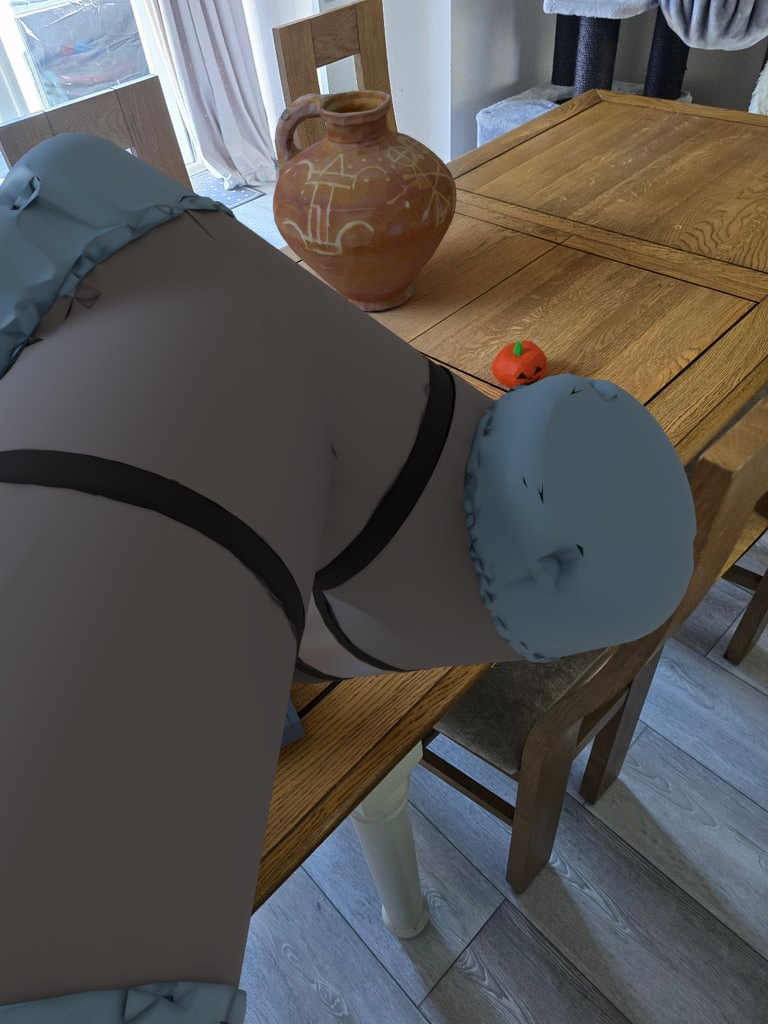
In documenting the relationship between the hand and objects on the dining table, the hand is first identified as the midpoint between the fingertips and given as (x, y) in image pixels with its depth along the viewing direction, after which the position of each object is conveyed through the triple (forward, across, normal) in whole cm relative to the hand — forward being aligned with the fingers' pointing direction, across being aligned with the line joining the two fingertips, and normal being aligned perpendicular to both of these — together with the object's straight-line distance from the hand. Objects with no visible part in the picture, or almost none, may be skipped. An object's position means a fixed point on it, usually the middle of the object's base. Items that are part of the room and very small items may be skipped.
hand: (191, 641), depth 47 cm
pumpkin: (+16, +62, -10) cm, 65 cm away
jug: (+39, +74, +13) cm, 84 cm away
